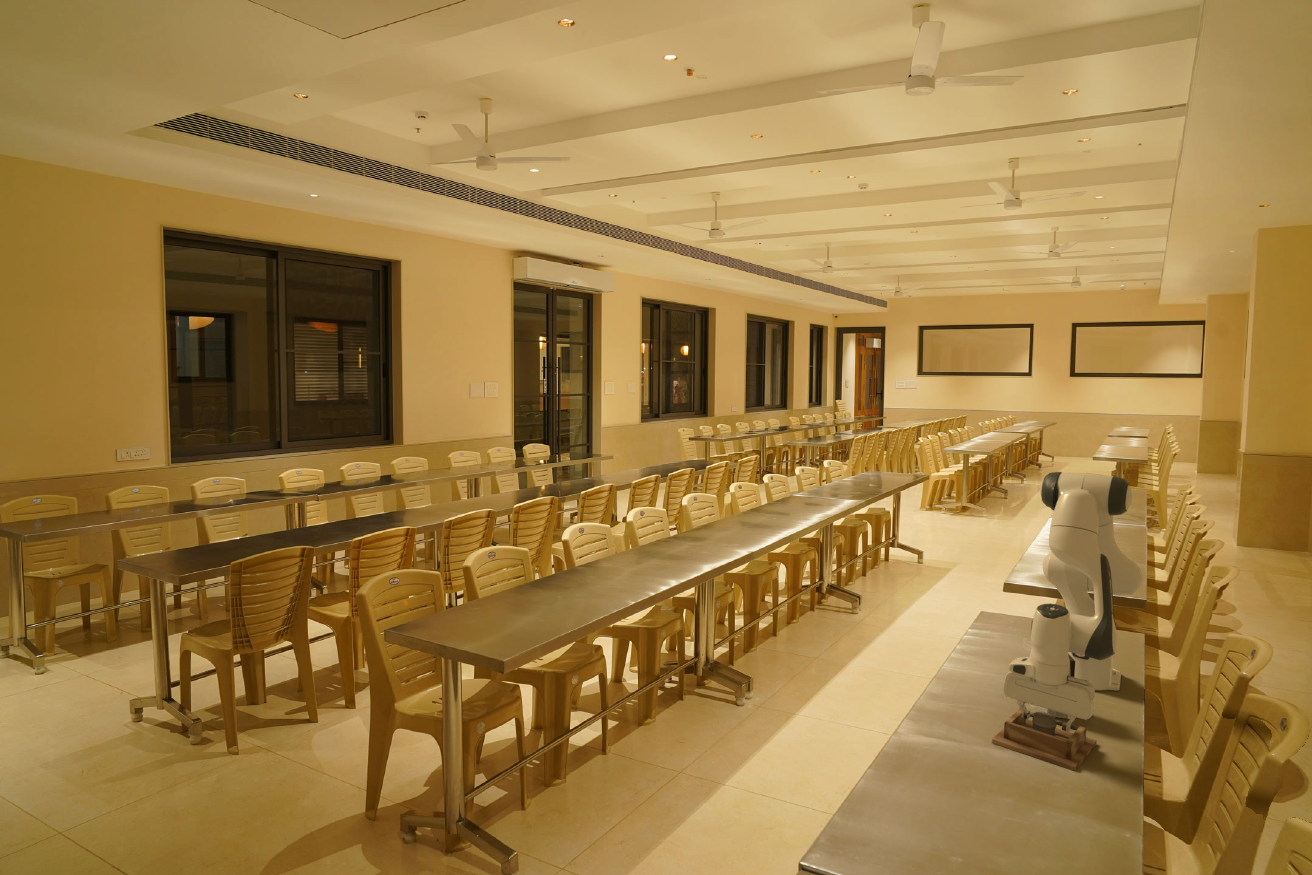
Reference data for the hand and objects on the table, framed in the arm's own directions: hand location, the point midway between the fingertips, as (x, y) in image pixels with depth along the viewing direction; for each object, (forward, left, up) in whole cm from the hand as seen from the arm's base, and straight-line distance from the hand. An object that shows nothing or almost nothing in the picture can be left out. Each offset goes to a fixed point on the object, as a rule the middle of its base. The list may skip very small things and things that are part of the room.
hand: (1045, 723), depth 192 cm
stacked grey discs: (0, 0, -4) cm, 4 cm away
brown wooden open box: (0, 0, -5) cm, 5 cm away
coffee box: (-22, -4, -5) cm, 23 cm away
